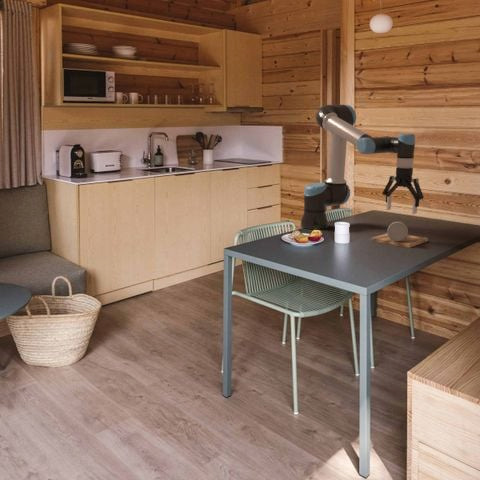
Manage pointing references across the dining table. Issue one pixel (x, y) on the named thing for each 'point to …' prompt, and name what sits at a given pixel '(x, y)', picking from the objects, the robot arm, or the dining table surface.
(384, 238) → the oak board
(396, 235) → the disposable coffee cup
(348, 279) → the dining table surface
